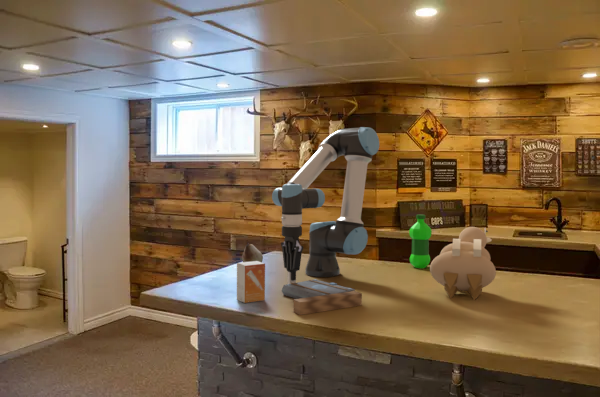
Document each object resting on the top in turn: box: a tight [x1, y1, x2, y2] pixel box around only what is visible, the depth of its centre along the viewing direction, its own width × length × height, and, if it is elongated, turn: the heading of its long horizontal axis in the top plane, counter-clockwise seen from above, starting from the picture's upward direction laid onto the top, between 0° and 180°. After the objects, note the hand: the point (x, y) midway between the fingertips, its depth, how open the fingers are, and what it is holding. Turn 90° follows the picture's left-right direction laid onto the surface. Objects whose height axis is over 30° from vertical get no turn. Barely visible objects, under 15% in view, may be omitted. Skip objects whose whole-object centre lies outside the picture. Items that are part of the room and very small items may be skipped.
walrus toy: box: [429, 226, 497, 301], centre depth 179 cm, size 30×28×23 cm
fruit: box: [242, 241, 264, 263], centre depth 227 cm, size 10×9×12 cm
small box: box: [236, 261, 266, 304], centre depth 170 cm, size 8×6×13 cm
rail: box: [293, 290, 363, 316], centre depth 160 cm, size 24×4×4 cm, turn 120°
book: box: [281, 278, 356, 299], centre depth 174 cm, size 21×16×5 cm
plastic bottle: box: [408, 214, 432, 269], centre depth 231 cm, size 10×10×25 cm
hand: (291, 288), depth 182 cm, fingers closed
